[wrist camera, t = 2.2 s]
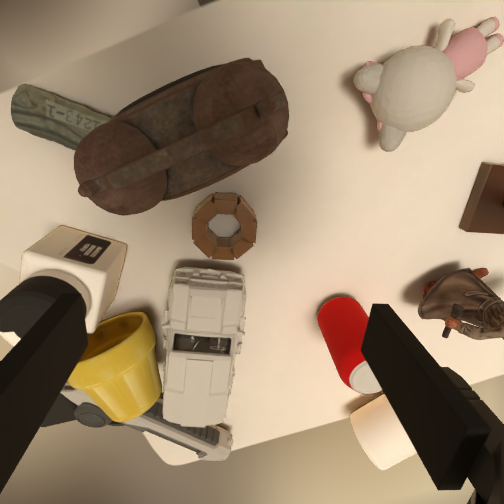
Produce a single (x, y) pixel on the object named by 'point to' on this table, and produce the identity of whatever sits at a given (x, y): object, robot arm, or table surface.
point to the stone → (53, 116)
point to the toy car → (201, 344)
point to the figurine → (464, 305)
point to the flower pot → (120, 367)
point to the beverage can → (347, 342)
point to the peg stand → (486, 201)
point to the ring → (222, 245)
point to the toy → (424, 79)
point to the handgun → (141, 424)
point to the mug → (381, 433)
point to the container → (63, 279)
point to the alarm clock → (183, 137)
